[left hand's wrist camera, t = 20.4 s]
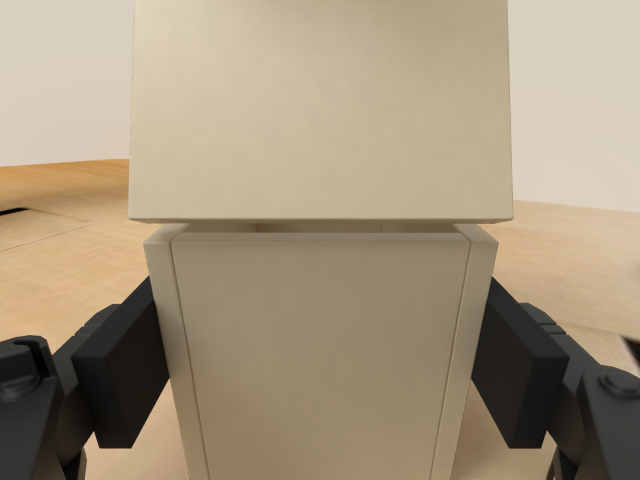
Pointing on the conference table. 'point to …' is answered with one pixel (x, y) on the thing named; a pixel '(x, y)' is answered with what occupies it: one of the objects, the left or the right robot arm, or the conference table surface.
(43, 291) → the conference table surface
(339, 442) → the chest
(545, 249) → the conference table surface
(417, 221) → the lid
